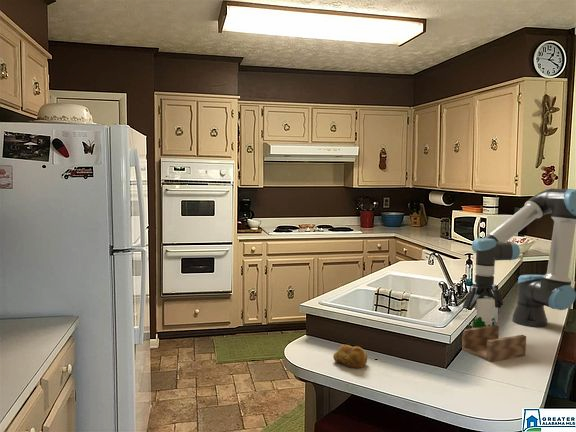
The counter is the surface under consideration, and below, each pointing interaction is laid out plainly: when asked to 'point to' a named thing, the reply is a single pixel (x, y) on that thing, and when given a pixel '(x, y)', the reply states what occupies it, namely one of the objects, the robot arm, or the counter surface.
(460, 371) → the counter surface
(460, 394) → the counter surface
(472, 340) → the u rest
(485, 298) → the soya milk
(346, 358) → the bread roll
